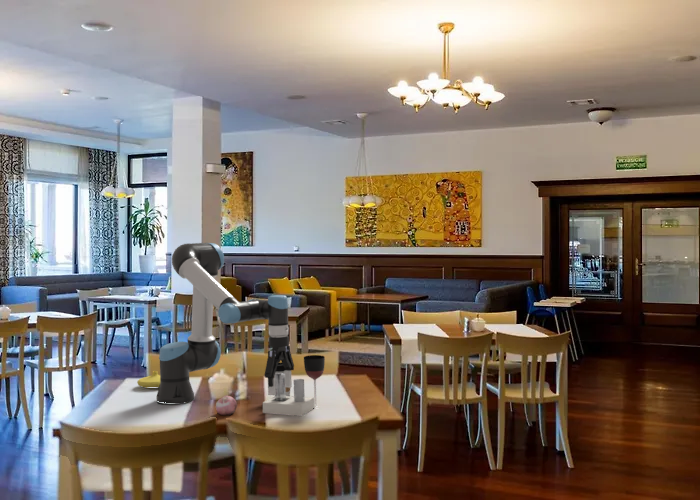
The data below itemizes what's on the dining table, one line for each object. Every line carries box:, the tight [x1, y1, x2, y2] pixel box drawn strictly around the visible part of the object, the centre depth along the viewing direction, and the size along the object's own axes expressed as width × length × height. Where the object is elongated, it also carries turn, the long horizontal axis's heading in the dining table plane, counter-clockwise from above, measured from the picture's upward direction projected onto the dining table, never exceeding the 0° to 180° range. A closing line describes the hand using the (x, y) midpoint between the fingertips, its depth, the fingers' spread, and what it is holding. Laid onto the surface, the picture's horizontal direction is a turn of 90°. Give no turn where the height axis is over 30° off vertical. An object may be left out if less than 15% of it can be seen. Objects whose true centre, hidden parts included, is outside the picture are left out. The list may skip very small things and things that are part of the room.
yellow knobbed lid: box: [136, 370, 160, 388], centre depth 317 cm, size 16×16×7 cm
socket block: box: [262, 378, 315, 417], centre depth 268 cm, size 16×12×12 cm
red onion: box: [215, 394, 238, 416], centre depth 266 cm, size 8×8×7 cm
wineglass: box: [303, 354, 326, 407], centre depth 272 cm, size 8×9×20 cm
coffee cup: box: [274, 362, 291, 396], centre depth 286 cm, size 8×8×15 cm
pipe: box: [274, 373, 286, 402], centre depth 270 cm, size 4×4×14 cm
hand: (280, 391), depth 270 cm, fingers open, 13 cm apart
